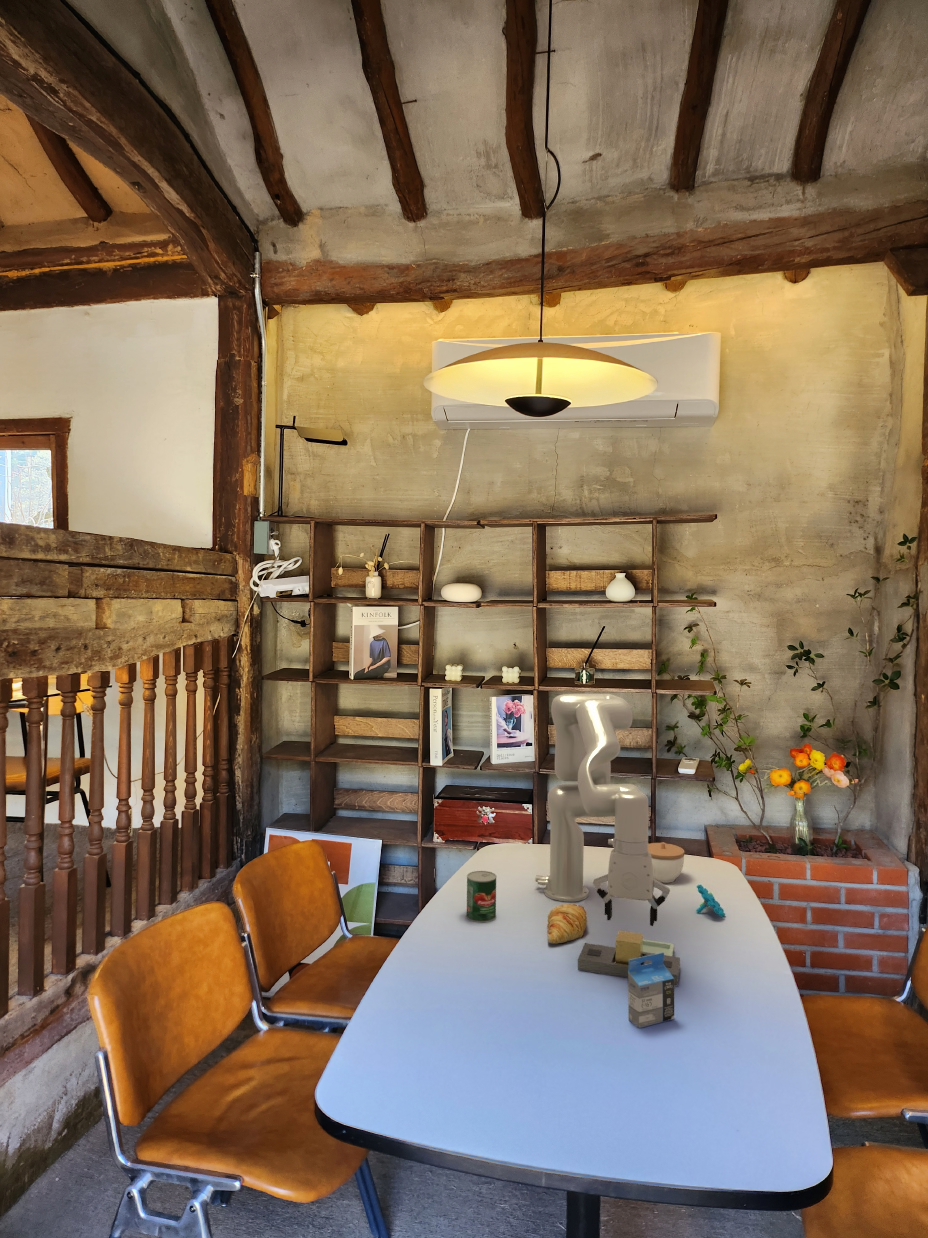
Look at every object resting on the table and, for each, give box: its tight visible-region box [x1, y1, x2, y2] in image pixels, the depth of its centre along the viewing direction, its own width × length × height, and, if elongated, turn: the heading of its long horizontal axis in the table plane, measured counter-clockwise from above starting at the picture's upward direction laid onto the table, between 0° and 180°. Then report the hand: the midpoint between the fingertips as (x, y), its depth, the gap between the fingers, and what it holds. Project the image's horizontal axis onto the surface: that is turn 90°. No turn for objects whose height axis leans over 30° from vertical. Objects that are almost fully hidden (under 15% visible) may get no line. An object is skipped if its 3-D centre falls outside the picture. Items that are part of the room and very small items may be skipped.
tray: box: [643, 939, 675, 957], centre depth 188 cm, size 12×8×2 cm, turn 71°
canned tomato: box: [466, 870, 497, 924], centre depth 209 cm, size 8×8×11 cm
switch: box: [577, 942, 681, 987], centre depth 180 cm, size 22×9×3 cm, turn 71°
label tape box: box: [627, 953, 675, 1029], centre depth 158 cm, size 9×4×12 cm, turn 114°
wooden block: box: [615, 930, 644, 965], centre depth 180 cm, size 6×6×8 cm
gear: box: [695, 884, 726, 918], centre depth 213 cm, size 11×6×10 cm
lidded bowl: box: [648, 841, 685, 884], centre depth 239 cm, size 13×13×11 cm
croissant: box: [546, 903, 588, 945], centre depth 200 cm, size 21×10×8 cm, turn 152°
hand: (630, 921), depth 179 cm, fingers open, 9 cm apart
